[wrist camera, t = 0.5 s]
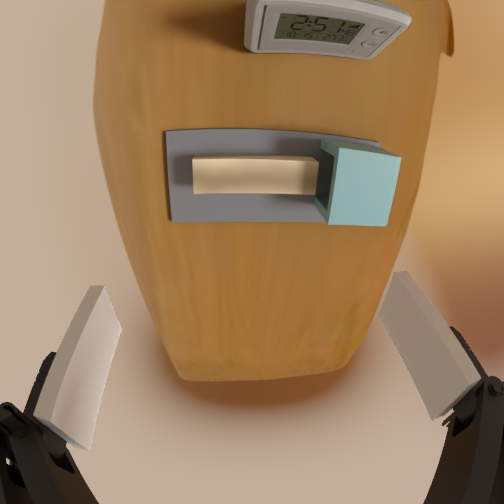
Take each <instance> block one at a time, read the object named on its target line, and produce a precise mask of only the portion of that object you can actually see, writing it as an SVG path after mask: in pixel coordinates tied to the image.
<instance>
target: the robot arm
mask: <svg viewBox="0 0 504 504" xmlns="http://www.w3.org/2000/svg"><path fill="white" fill-rule="evenodd" d="M379 316H380V318H381V320H382V321H383V323H384V325H385V327H386V329H387V330H388V332H389V334H390V336H391V338H392V340H393V341H394V343H395V345H396V347H397V349H398V351H399V353H400V355H401V356H402V358H403V360H404V362H405V364H406V366H407V368H408V370H409V372H410V374H411V376H412V378H413V380H414V383H415V385H416V387H417V389H418V391H419V393H420V395H421V397H422V399H423V402H424V404H425V406H426V408H427V411H428V413H429V415H430V418H431V420H432V421H433V420H436V419H438V418H440V417H442V416H443V415H445V414H446V413H447V412H448V411H450V409H452V408H453V410H454V412H453V413H452V414H451V415H450V416H448V417H447V418H446V419H445V420H444V421H443V423H442V426H444V425H445V424H446V423H447V422H449V421H450V423H448V425H447V426H446V427H448V432H447V436H446V440H445V444H444V447H443V451H442V454H441V457H440V461H439V464H438V467H437V470H436V473H435V476H434V479H433V481H432V484H431V486H430V489H429V491H428V494H427V497H426V499H425V501H424V503H423V504H504V382H502V381H501V380H500V379H499V378H497V377H495V376H490V377H488V376H487V374H486V373H485V371H484V369H483V368H482V366H481V364H480V363H479V361H478V360H477V358H476V356H475V355H474V353H473V352H472V350H470V347H469V346H468V344H466V341H465V340H464V338H463V337H462V335H461V334H460V333H459V332H458V331H457V330H456V329H455V328H453V327H452V326H451V327H449V326H448V325H447V323H446V322H445V321H444V320H443V318H442V316H441V315H440V314H439V312H438V311H437V309H436V308H435V307H434V305H433V304H432V303H431V301H430V300H429V299H428V298H427V296H426V295H425V294H424V292H423V291H422V290H421V288H420V287H419V286H418V285H417V283H416V282H415V281H414V280H413V278H412V277H411V276H410V275H409V274H408V272H407V271H401V272H394V275H393V277H392V280H391V283H390V286H389V289H388V291H387V295H386V297H385V300H384V302H383V305H382V307H381V310H380V313H379ZM121 331H122V328H121V325H120V323H119V321H118V318H117V316H116V313H115V311H114V309H113V306H112V304H111V302H110V299H109V296H108V293H107V291H106V288H105V286H90V288H89V290H88V291H87V293H86V295H85V297H84V298H83V300H82V302H81V304H80V306H79V308H78V310H77V312H76V314H75V315H74V318H73V320H72V321H71V323H70V325H69V327H68V330H67V332H66V334H65V336H64V338H63V340H62V342H61V344H60V347H59V349H58V351H57V353H56V352H51V353H50V354H49V355H48V356H47V357H46V359H45V360H44V361H43V363H42V365H41V367H40V370H39V373H38V375H37V377H36V382H34V385H33V387H32V390H31V393H30V395H29V398H28V401H27V404H26V407H25V409H24V412H23V413H22V412H21V411H20V410H19V409H17V408H16V407H15V406H14V405H13V404H12V403H9V402H5V403H2V404H1V405H0V504H99V503H98V502H97V500H96V498H95V497H94V495H93V494H92V492H91V490H90V489H89V487H88V486H87V484H86V482H85V480H84V479H83V477H82V475H81V473H80V471H79V470H78V468H77V466H76V464H75V462H74V460H73V458H72V456H71V454H70V452H69V450H68V449H67V448H66V443H67V442H68V443H70V444H71V445H72V446H74V447H77V448H80V449H83V450H86V451H91V445H92V440H93V435H94V430H95V425H96V421H97V416H98V411H99V407H100V403H101V399H102V395H103V391H104V387H105V384H106V380H107V377H108V373H109V369H110V366H111V363H112V359H113V356H114V353H115V349H116V346H117V343H118V340H119V337H120V334H121ZM6 458H8V459H9V460H10V464H9V465H8V464H7V463H6Z"/></svg>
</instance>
